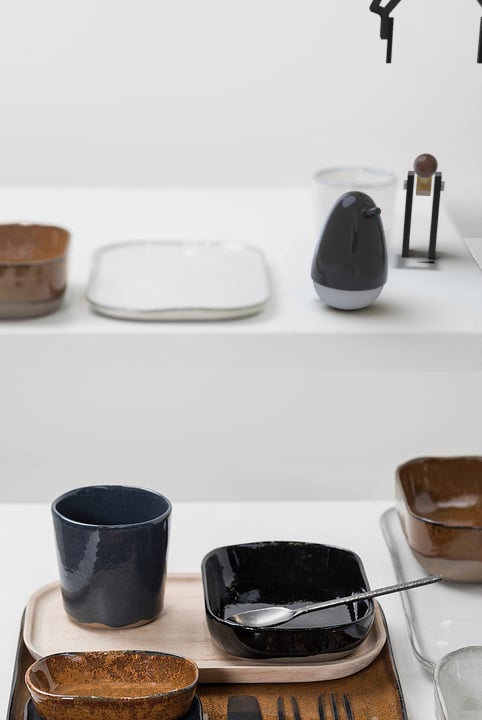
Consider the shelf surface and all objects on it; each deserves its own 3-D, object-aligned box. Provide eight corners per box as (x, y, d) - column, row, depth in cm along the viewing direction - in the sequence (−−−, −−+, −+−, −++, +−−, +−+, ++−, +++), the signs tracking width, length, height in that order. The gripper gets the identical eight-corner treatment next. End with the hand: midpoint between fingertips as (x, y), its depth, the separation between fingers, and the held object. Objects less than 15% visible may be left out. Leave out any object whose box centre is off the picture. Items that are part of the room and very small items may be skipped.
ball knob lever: (437, 174, 152) (439, 150, 152) (412, 173, 152) (414, 149, 152) (434, 199, 164) (435, 177, 165) (411, 198, 165) (413, 176, 165)
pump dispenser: (334, 321, 140) (344, 206, 133) (294, 295, 148) (301, 185, 141) (400, 310, 144) (413, 198, 137) (357, 285, 152) (367, 178, 145)
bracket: (437, 270, 164) (445, 178, 159) (397, 269, 165) (403, 176, 160) (437, 259, 171) (445, 170, 166) (398, 257, 172) (405, 168, 167)
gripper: (531, -92, 158) (515, 61, 166) (358, -89, 162) (351, 61, 170) (538, -96, 151) (522, 64, 159) (357, -93, 155) (350, 64, 163)
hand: (434, 63), depth 164 cm, fingers open, 13 cm apart
